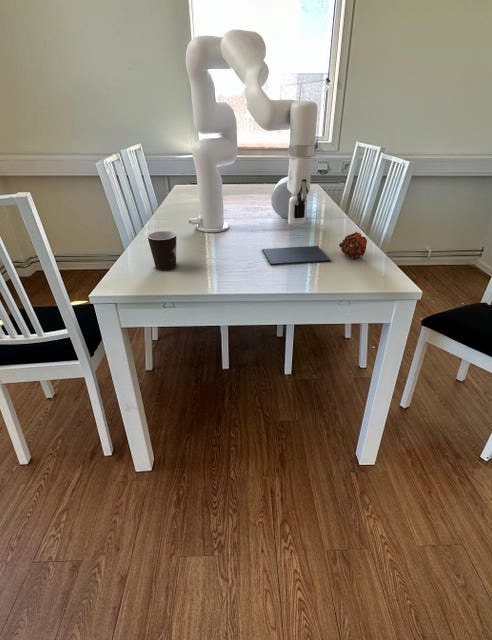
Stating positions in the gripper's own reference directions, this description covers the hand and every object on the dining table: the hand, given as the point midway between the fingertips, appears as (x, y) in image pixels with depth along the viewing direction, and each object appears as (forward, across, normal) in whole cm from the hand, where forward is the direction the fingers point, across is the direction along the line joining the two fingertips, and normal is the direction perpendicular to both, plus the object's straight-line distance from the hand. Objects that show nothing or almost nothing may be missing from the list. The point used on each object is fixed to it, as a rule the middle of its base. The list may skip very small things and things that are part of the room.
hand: (297, 215), depth 125 cm
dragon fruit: (+14, +3, +19) cm, 24 cm away
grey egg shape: (+13, -56, +10) cm, 58 cm away
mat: (+13, 0, 0) cm, 13 cm away
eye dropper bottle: (+3, 0, 0) cm, 3 cm away
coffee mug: (+13, +2, -42) cm, 44 cm away
